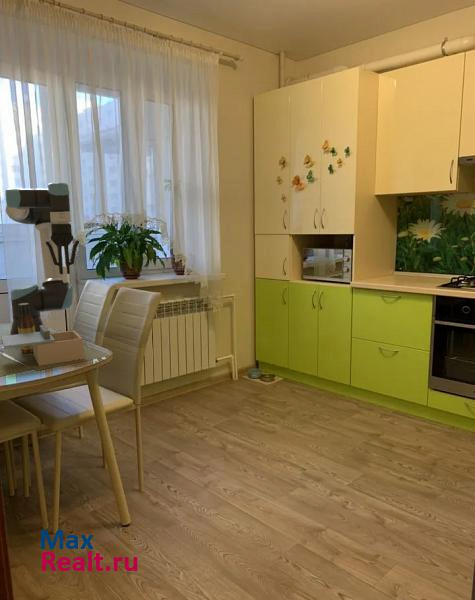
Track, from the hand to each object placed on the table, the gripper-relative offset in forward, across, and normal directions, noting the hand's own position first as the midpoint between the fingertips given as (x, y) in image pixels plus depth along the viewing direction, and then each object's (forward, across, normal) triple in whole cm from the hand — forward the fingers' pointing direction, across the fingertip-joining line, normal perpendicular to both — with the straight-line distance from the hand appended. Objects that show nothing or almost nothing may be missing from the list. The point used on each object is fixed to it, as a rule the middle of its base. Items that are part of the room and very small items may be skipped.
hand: (65, 282), depth 190 cm
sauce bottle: (+28, -15, +4) cm, 32 cm away
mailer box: (+28, -6, -11) cm, 30 cm away
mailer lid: (+19, -16, -11) cm, 28 cm away
